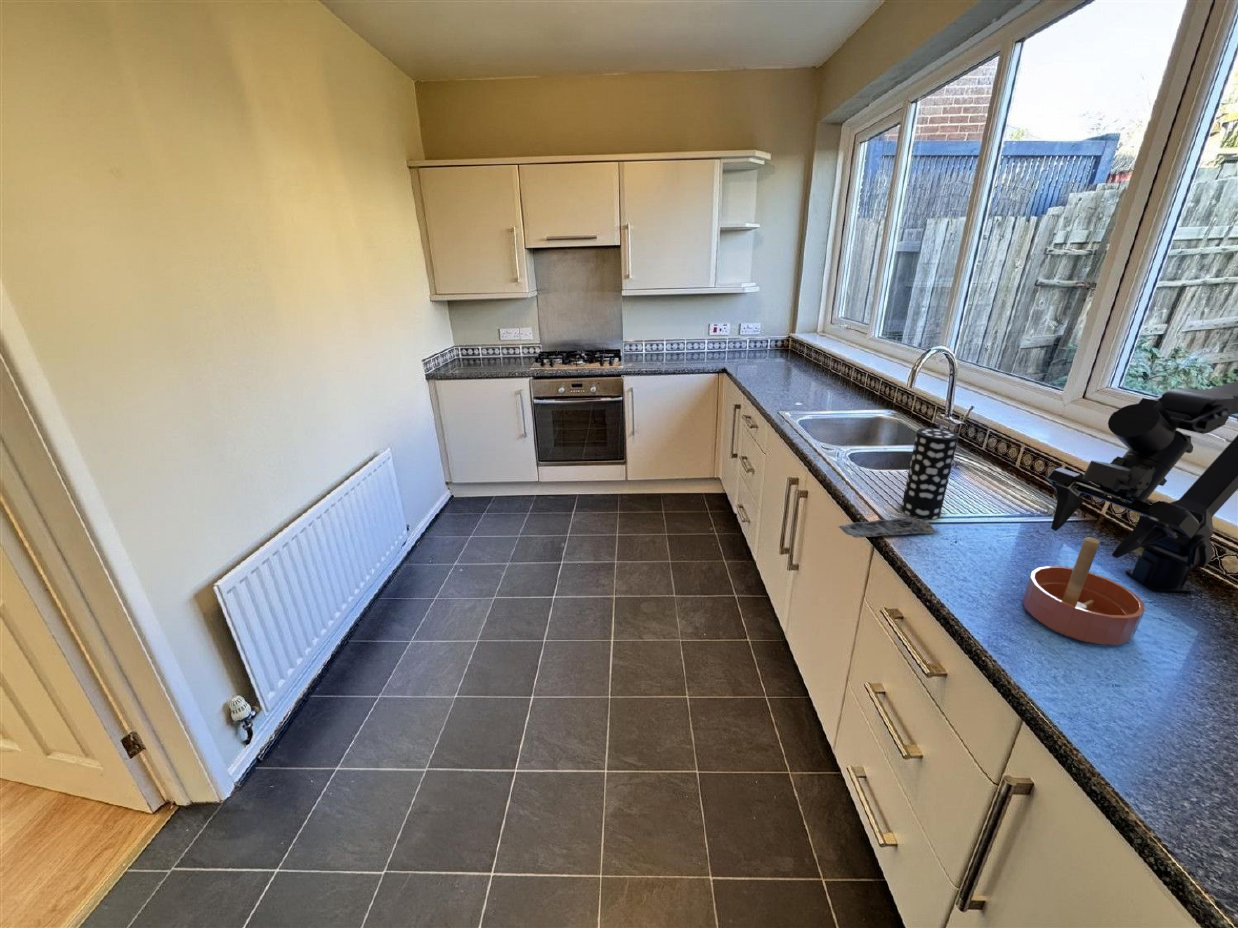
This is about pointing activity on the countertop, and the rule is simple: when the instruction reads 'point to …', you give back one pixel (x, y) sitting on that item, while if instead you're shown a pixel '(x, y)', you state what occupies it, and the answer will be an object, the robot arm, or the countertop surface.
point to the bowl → (1099, 624)
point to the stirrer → (1081, 573)
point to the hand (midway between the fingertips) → (1082, 542)
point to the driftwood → (887, 527)
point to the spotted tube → (929, 472)
